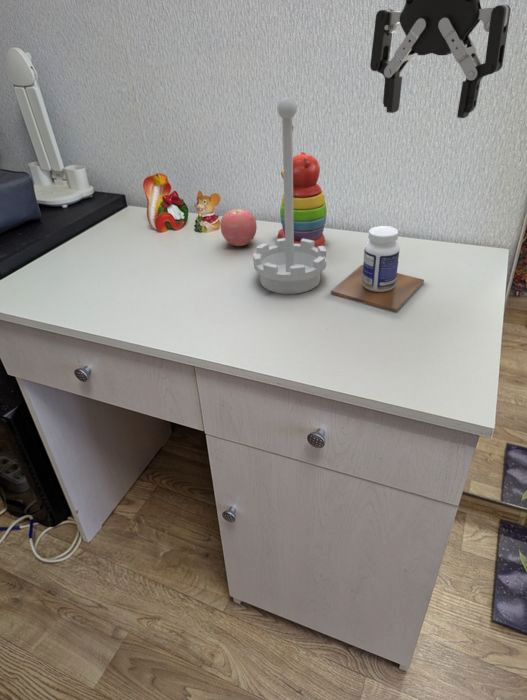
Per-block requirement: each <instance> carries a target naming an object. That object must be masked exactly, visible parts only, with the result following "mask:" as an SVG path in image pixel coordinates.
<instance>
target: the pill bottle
mask: <svg viewBox="0 0 527 700" xmlns="http://www.w3.org/2000/svg"><path fill="white" fill-rule="evenodd" d="M367 238H368V239H369V240H368V241H367V242H366V243H365V245H364V248H363V249H364V250H363V264H362V265H363V277H362V284H363V286H364V287H365V288H366V289H368V290H370V291H374V292H386V291H389V290H391V289H393V288H394V287H395V285H396V277H397V273H398V267H399V257H400V245H399V243H398V242H397V240H398V238H399V230H398V229H397V228H395V227H393V226H390V225H389V226H387V225H378V226H374V227H373V226H372V227H371V228H369V230H368V237H367Z"/></svg>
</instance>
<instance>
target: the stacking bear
mask: <svg viewBox="0 0 527 700" xmlns="http://www.w3.org/2000/svg"><path fill="white" fill-rule="evenodd" d="M320 171H321V169H320V163H319V161H318V159H317V158H315V156H313V155H310V154H307V153H306V152H304V151H301V152H300V154H296V155H293V220H294V244H301V240H302V239H309V240H312V241H314V247H316V248H318V246H324V245H325V243H326V239H325V235H324V229H325V225H326V222H327V212H328V211H327V204H326V199H325V198H326V197H325V193H324V191H323V190H322V188H321V186H320V185H319V184H318V180H319V177H320ZM280 175H281V178H282V180H283V181H284V172H283V169H282V170H281V172H280ZM279 209H280V210H279V214H280V216H279V217H280V224H281V229H279V230H278V232H277V239H282V238H285V215H284V192H283V194H282V197H281V204H280V208H279Z"/></svg>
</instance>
